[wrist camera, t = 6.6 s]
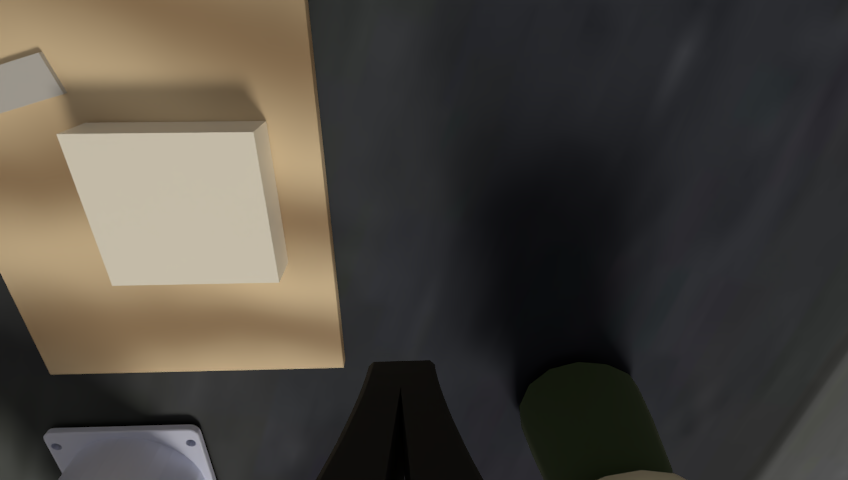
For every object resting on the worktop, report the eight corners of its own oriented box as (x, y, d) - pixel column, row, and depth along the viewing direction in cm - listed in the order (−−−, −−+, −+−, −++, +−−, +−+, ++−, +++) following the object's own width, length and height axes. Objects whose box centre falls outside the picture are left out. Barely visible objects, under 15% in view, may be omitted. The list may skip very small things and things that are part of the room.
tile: (279, 282, 19) (112, 285, 18) (288, 261, 20) (133, 264, 20) (253, 131, 16) (56, 134, 16) (266, 120, 17) (86, 122, 17)
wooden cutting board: (345, 359, 23) (343, 367, 23) (58, 365, 23) (50, 374, 22) (300, -72, 15) (296, -75, 14) (-150, -73, 15) (-171, -76, 14)
